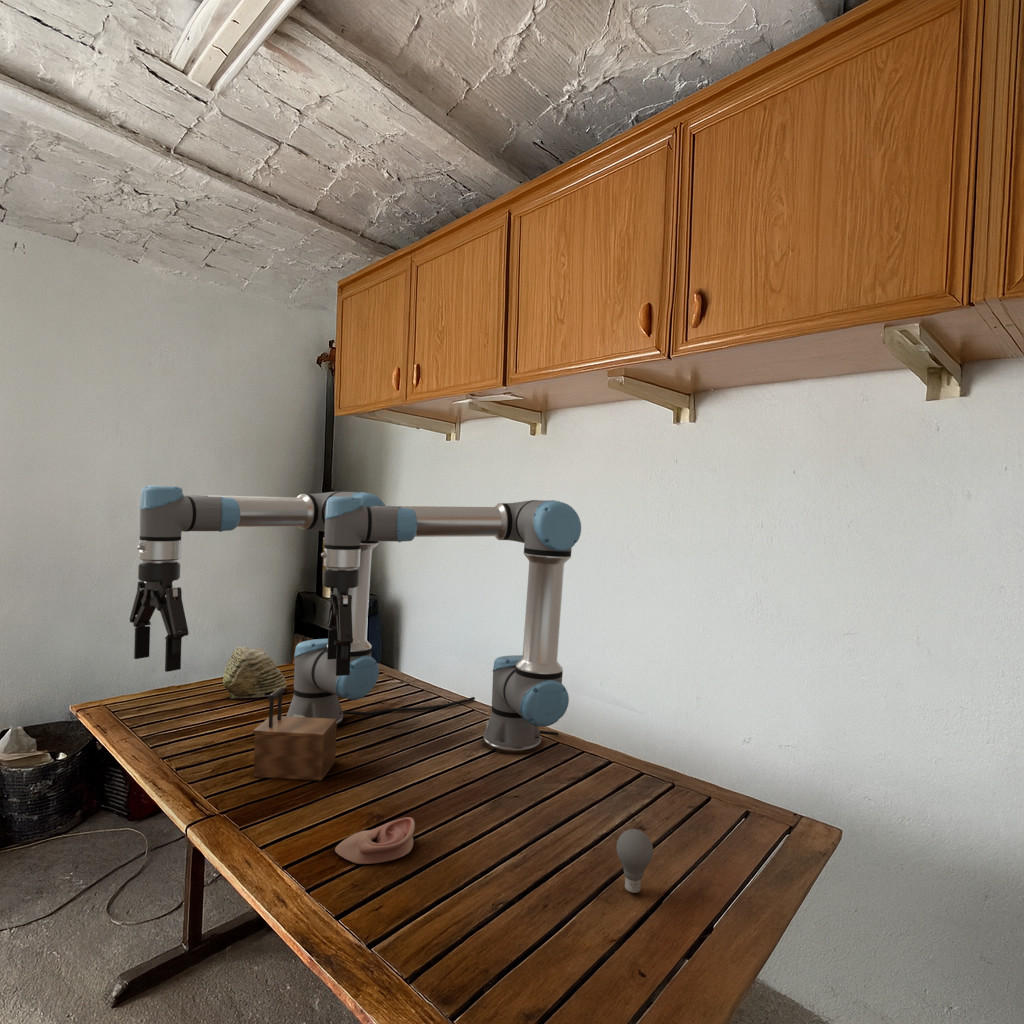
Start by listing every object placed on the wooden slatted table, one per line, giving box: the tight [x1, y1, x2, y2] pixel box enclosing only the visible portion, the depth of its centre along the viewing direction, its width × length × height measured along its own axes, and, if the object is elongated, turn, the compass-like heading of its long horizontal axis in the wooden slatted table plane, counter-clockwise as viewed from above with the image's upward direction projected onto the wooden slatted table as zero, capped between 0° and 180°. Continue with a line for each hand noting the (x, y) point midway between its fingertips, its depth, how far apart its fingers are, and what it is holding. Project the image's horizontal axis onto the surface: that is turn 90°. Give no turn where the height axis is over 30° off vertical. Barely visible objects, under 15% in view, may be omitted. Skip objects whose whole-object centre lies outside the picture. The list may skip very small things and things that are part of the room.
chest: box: [253, 723, 338, 781], centre depth 146 cm, size 15×10×10 cm, turn 88°
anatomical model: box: [334, 816, 416, 865], centre depth 115 cm, size 13×4×12 cm
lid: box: [252, 687, 337, 738], centre depth 146 cm, size 16×10×8 cm, turn 88°
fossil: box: [222, 646, 288, 699], centre depth 198 cm, size 9×18×15 cm, turn 132°
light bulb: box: [615, 828, 654, 894], centre depth 106 cm, size 6×6×10 cm
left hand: (156, 664), depth 130 cm, fingers open, 13 cm apart
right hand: (338, 666), depth 136 cm, fingers open, 13 cm apart
